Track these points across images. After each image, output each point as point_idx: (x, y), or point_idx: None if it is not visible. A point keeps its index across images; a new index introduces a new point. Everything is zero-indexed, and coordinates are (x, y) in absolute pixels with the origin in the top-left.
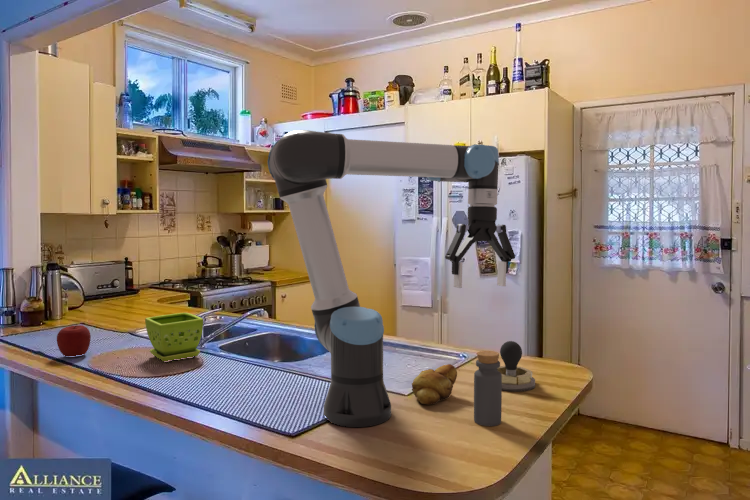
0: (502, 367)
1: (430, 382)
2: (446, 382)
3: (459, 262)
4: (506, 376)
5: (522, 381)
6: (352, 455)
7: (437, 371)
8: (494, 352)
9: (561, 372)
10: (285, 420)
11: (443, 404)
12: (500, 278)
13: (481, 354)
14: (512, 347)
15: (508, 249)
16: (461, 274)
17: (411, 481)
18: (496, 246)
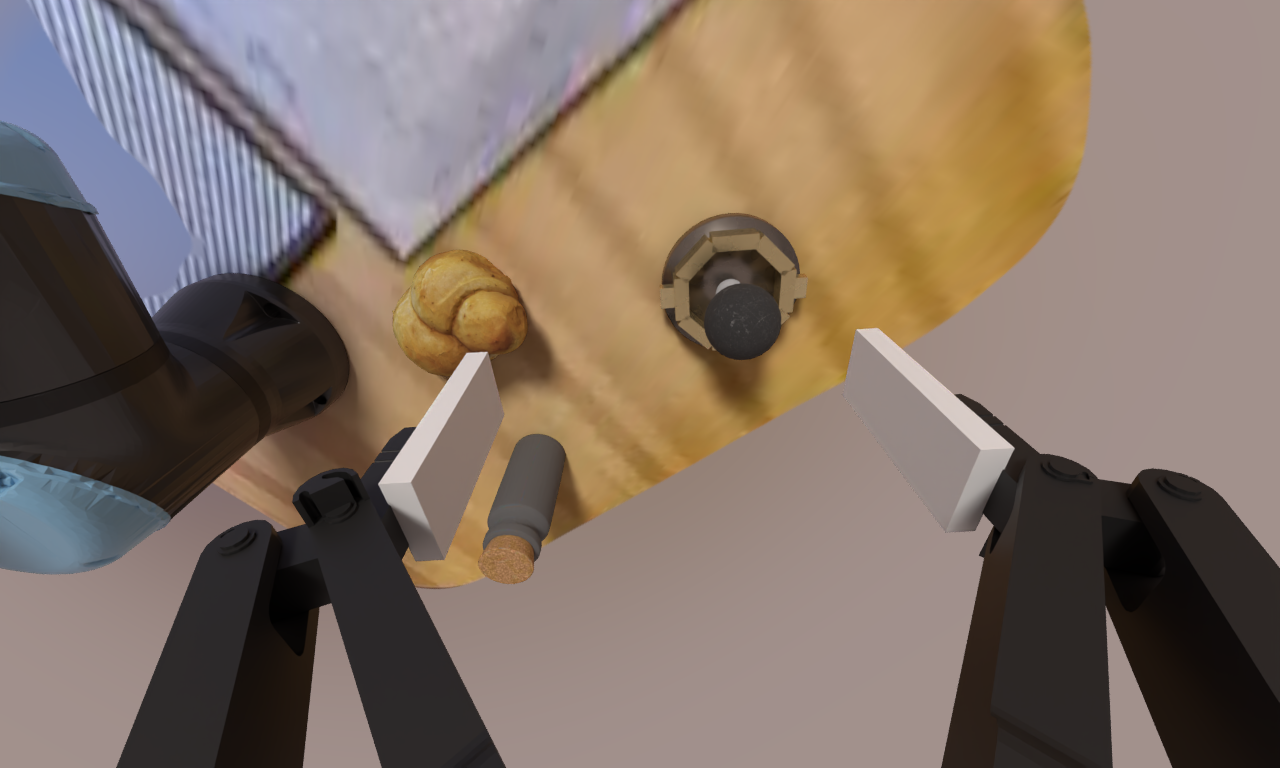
0: (736, 249)
1: (430, 372)
2: None
3: (420, 537)
4: (687, 332)
5: None
6: (278, 489)
7: (459, 335)
8: (524, 567)
9: (958, 233)
10: None
11: None
12: (874, 392)
13: (484, 570)
14: (731, 356)
15: (1130, 661)
16: (472, 477)
17: None
18: (953, 719)
